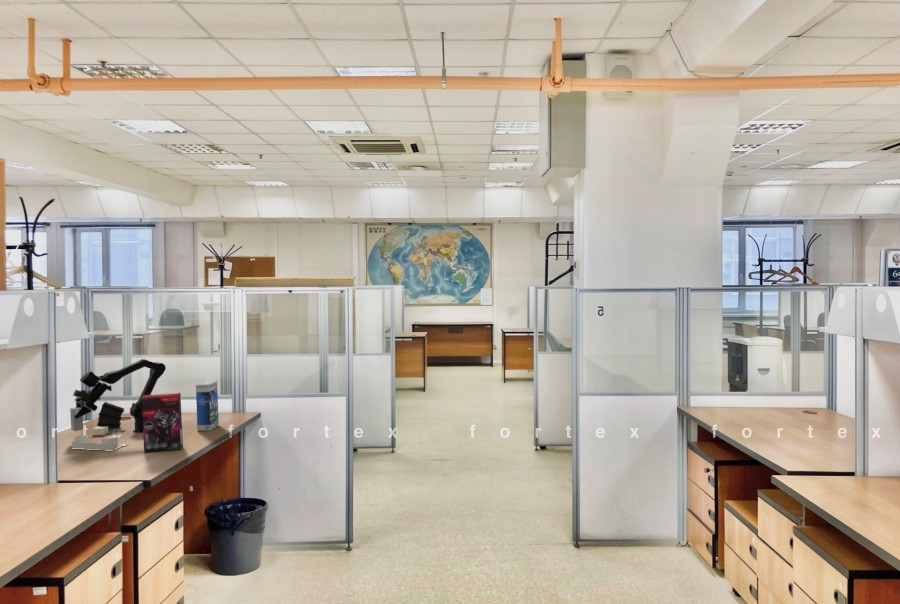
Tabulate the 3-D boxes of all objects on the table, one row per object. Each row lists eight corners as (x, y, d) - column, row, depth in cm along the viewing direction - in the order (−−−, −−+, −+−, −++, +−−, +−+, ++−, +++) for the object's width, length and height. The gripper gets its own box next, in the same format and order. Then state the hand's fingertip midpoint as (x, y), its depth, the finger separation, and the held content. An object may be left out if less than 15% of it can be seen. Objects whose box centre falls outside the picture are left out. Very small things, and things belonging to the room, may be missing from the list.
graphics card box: (142, 453, 296) (140, 397, 295) (145, 449, 303) (143, 394, 301) (181, 450, 300) (179, 395, 299) (183, 446, 307) (181, 392, 306)
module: (79, 427, 321) (78, 407, 320) (83, 429, 317) (82, 408, 316) (71, 429, 318) (70, 408, 317) (74, 431, 314) (73, 409, 313)
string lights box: (210, 431, 338) (208, 384, 336) (196, 431, 337) (194, 384, 336) (219, 425, 351) (217, 380, 350) (205, 425, 351) (204, 380, 350)
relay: (108, 433, 336) (108, 426, 336) (103, 435, 331) (103, 428, 331) (97, 433, 336) (97, 426, 336) (92, 436, 332) (92, 428, 331)
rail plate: (89, 442, 317) (88, 432, 316) (128, 445, 311) (128, 434, 311) (69, 449, 305) (69, 438, 305) (110, 451, 300) (110, 440, 299)
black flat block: (92, 426, 346) (104, 401, 348) (116, 434, 350) (128, 409, 351) (91, 427, 343) (103, 402, 344) (115, 435, 346) (127, 411, 348)
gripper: (78, 381, 326) (55, 405, 318) (89, 385, 313) (65, 410, 305) (95, 394, 332) (73, 418, 324) (106, 398, 319) (84, 423, 311)
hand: (73, 417), depth 316 cm, fingers closed on module, 5 cm apart
